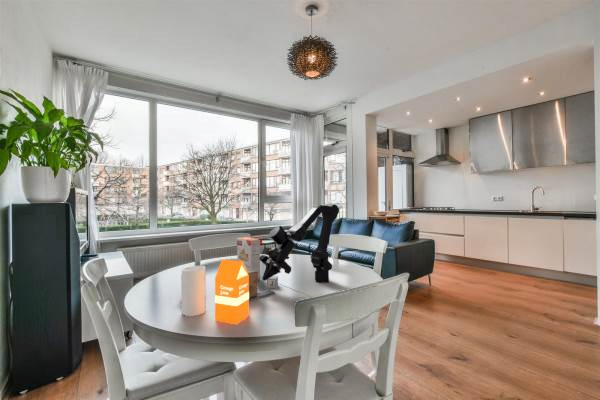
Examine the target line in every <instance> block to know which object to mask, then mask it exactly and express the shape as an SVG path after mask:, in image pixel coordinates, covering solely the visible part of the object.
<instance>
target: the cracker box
mask: <svg viewBox="0 0 600 400" xmlns="http://www.w3.org/2000/svg"><path fill="white" fill-rule="evenodd" d="M236 253H237V255H236V256H237V257H236V261H243V264H244V266H245V268H246V271H247V272H248V271H254V270H256V271H258V280H261V261H260V260H259V258H260V256H261V239H259V238H258V239H257V238H254V237H249V236H248V237H247V236H243V237H242V236H241V237H240V236H239V237H237V238H236Z"/></svg>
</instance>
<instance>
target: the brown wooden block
mask: <svg viewBox="0 0 600 400" xmlns="http://www.w3.org/2000/svg"><path fill="white" fill-rule="evenodd" d="M247 273H248V275H249V297H253V296H257V295H258V293H259V292H258V289H259V287H258V271H256V270H254V271H248V272H247Z"/></svg>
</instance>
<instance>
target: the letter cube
mask: <svg viewBox="0 0 600 400" xmlns="http://www.w3.org/2000/svg"><path fill="white" fill-rule="evenodd" d="M278 285H279V276H278V275H274V276H272V277H270V278H268V279H267V280H266V288H267V289H277V287H278Z"/></svg>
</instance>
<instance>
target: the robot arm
mask: <svg viewBox="0 0 600 400" xmlns="http://www.w3.org/2000/svg"><path fill="white" fill-rule="evenodd" d="M339 213H340V208H339V207H338V205H337V204H327V203H325V205H322V204H314V205H313V206H312V208H311V209H310V210H309V212H308V213H307V214H306V215H305V216H304V217H303V218H302V219H301V221H299V222H298V223H297V224H294V225H293V226H292V227H290V228H289V229H288V230H287V231H285V230H284V228H283V226H282V225H277V226H276V227H275V228H272V229H271V230H270V231H269V233H268V236H269V238H271V240H272V241H273V242H274V243H275V244H276V245H280V246H279V247H274V246H273V247H272V248H271V247H267V246H264V247H263V250H262V252H261V254H262V255H261V254H260V258H259V260H260V262H262V263H263V264H264V266H265V269H264V272H263V275H262V277H261V278H262V281H267V279H268V278H270V277H272V276H277V275H278V274H279V273H281V270H282V269H283V270H284V273H285V274H287V275H289V274H291V272H292V266H290V265H289V264H288V263H287V262H286V260H289V259H290V254H291V252H292V251H293V250H299V246H298V242H301V241H303V240H304V238H305V236H306V235H307V231H308V229H309V228H310V226H312V224H313V223H314V222H315V221H316V219H317V218H318V217H319V216H320V215H321V217H322V225H321V230H320V234H319V238H318V244H317V247H316V248H315V250H314V249H312V251H311V255H310V257H309V258H310V262H311V263H312V267H313V268H314V269H315V271H314V280H315V283H326V284H327V283H330V277H329V276H330V275H329V272H330V271H331V270H332V268H333V264H332V263H331V262H330V261H329V252H328V245H329V242H330V237H331V232H332V227H333V223H334V222H335V220H336V219H337V218H338V215H339Z"/></svg>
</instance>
